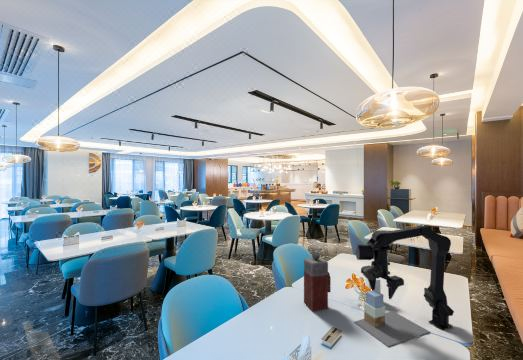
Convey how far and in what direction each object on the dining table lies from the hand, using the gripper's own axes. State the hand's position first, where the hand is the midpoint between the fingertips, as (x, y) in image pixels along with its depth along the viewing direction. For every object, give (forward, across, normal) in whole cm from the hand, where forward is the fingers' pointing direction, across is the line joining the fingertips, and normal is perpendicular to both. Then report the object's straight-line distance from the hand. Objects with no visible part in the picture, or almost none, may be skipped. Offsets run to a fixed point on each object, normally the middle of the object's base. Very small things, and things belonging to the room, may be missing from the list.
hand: (381, 294), depth 113 cm
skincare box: (+13, -17, +13) cm, 25 cm away
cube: (+4, -1, -3) cm, 5 cm away
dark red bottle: (+12, -24, -17) cm, 32 cm away
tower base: (+12, -1, -4) cm, 13 cm away
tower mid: (+8, -1, -3) cm, 9 cm away
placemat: (+12, +4, 0) cm, 13 cm away
